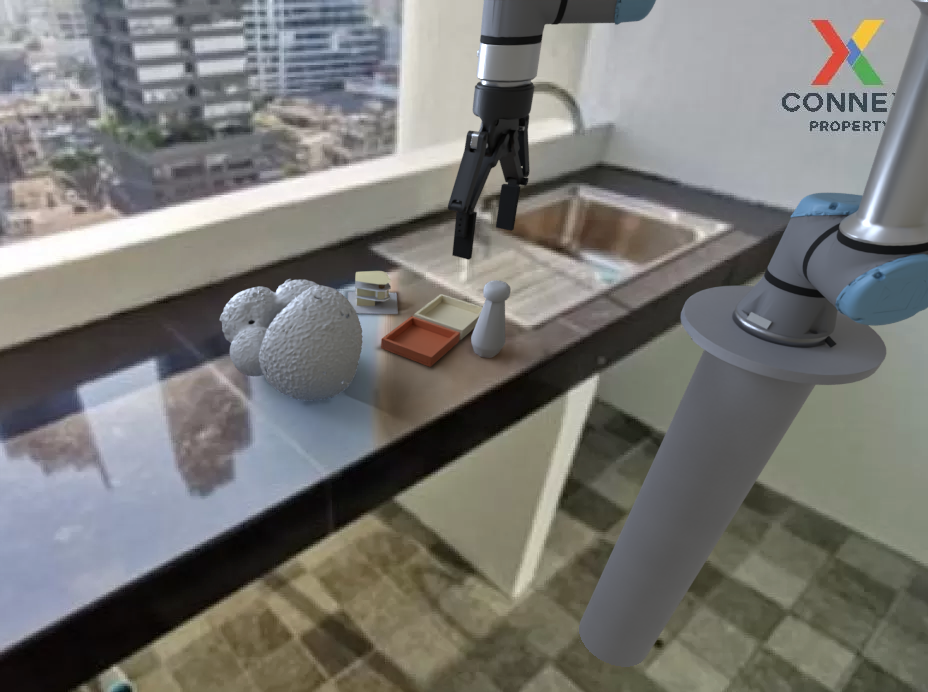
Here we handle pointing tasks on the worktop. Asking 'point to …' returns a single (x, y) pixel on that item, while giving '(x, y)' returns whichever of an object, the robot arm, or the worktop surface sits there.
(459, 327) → the ivory tray
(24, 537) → the worktop surface
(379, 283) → the stacked layers on plate
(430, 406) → the worktop surface
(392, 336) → the terracotta tray
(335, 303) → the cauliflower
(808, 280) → the robot arm
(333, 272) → the worktop surface
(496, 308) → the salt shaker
